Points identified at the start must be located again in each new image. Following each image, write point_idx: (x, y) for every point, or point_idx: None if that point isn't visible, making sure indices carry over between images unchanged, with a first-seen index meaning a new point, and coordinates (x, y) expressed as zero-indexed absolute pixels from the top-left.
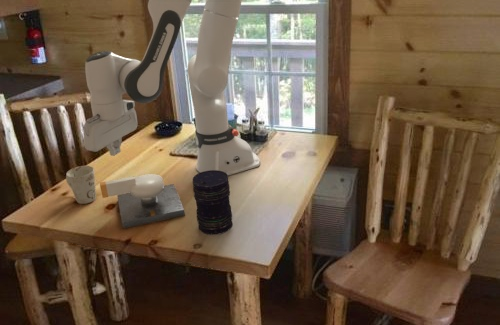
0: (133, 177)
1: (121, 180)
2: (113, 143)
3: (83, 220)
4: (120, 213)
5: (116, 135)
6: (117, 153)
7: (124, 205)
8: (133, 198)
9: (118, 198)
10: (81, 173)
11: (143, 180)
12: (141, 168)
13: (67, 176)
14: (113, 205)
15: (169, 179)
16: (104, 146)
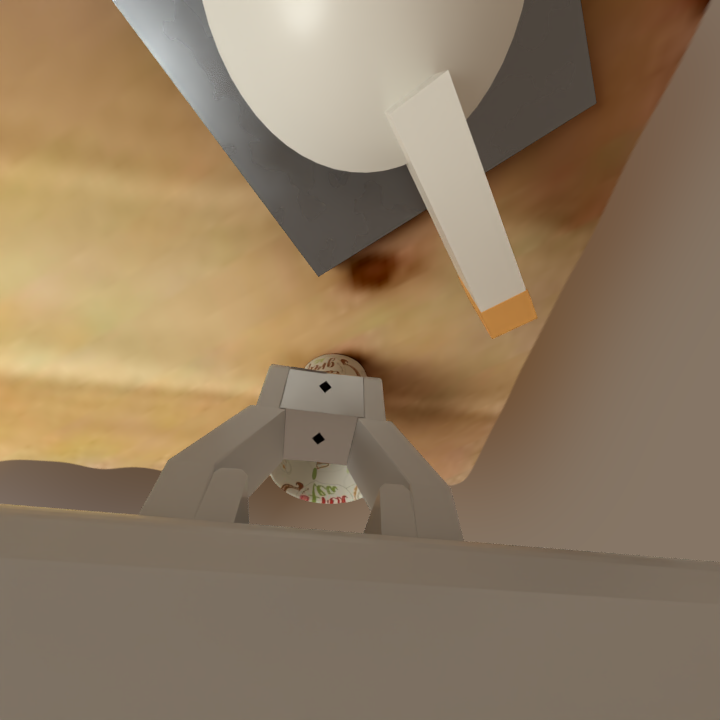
0: (417, 107)
1: (472, 202)
2: (389, 507)
3: (477, 320)
4: (493, 166)
5: (328, 664)
6: (328, 373)
7: (411, 187)
8: (335, 172)
9: (347, 254)
10: (292, 461)
11: (346, 35)
12: (23, 305)
13: None
14: (361, 265)
15: (4, 74)
16: (705, 572)
